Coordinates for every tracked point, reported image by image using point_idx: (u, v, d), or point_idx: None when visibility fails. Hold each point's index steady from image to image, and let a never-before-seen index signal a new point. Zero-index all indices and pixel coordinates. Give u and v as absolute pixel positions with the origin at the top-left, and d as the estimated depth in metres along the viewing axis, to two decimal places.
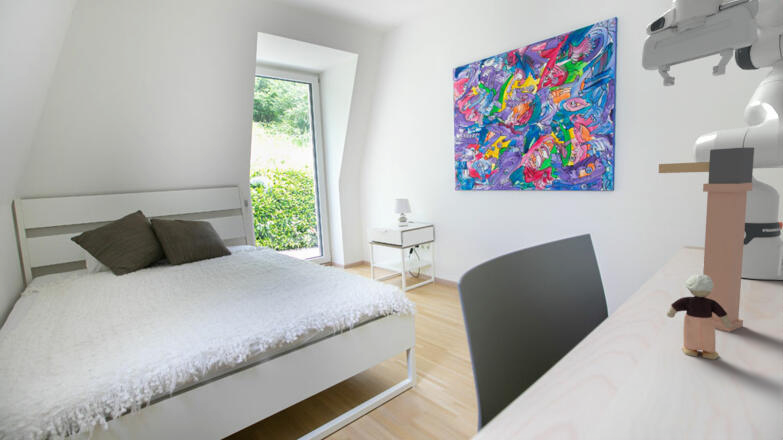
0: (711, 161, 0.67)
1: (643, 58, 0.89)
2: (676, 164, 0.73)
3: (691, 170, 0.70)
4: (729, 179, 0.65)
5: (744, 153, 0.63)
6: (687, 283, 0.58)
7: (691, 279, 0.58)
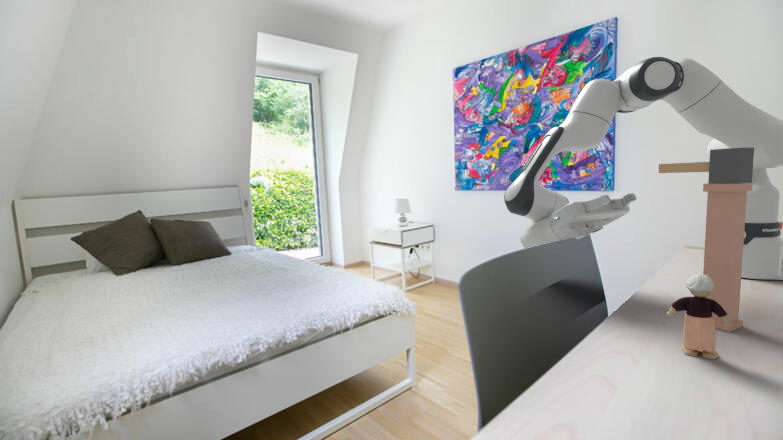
0: (711, 161, 0.67)
1: None
2: (676, 164, 0.73)
3: (691, 170, 0.70)
4: (729, 179, 0.65)
5: (744, 153, 0.63)
6: (687, 283, 0.58)
7: (691, 279, 0.58)
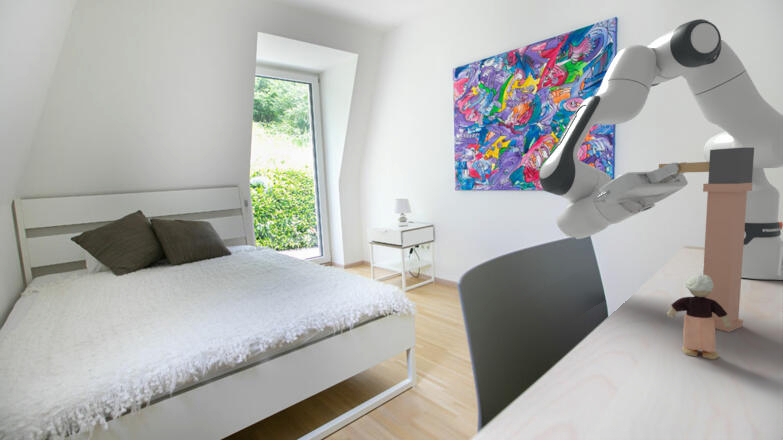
0: (711, 161, 0.67)
1: (678, 190, 0.82)
2: None
3: (691, 170, 0.70)
4: (729, 179, 0.65)
5: (744, 153, 0.63)
6: (687, 283, 0.58)
7: (691, 279, 0.58)
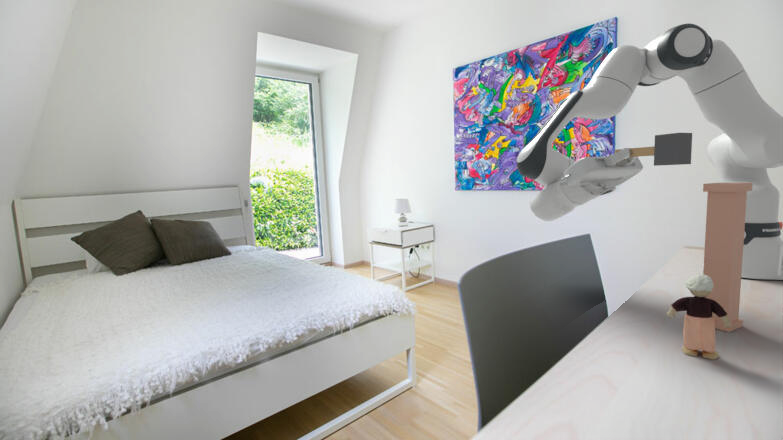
0: (656, 145, 0.75)
1: (635, 174, 0.90)
2: None
3: (641, 154, 0.79)
4: (670, 161, 0.73)
5: (682, 138, 0.72)
6: (687, 283, 0.58)
7: (691, 279, 0.58)
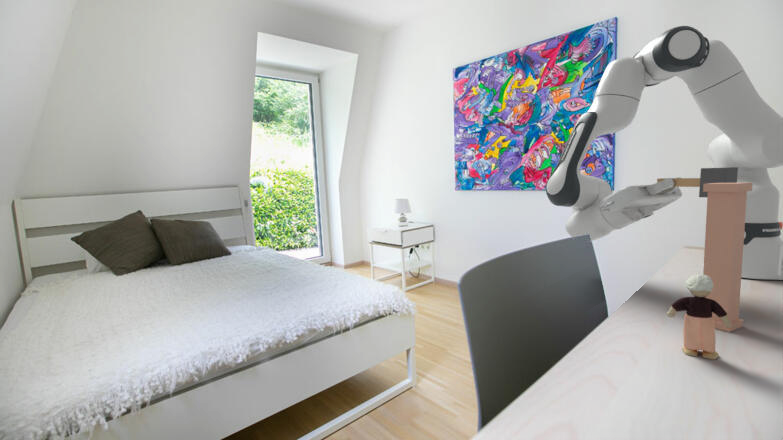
0: (701, 178, 0.78)
1: (673, 201, 0.93)
2: None
3: (685, 185, 0.82)
4: None
5: (729, 172, 0.75)
6: (687, 283, 0.58)
7: (691, 279, 0.58)
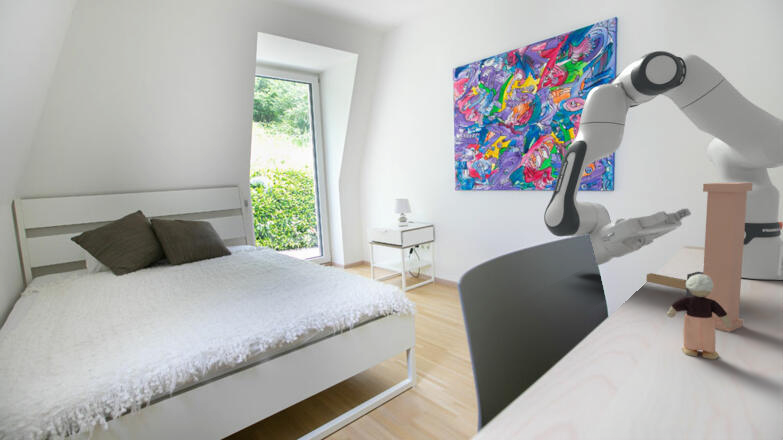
0: None
1: (673, 229, 0.94)
2: (660, 278, 0.88)
3: (672, 285, 0.85)
4: None
5: None
6: (687, 283, 0.58)
7: (691, 279, 0.58)
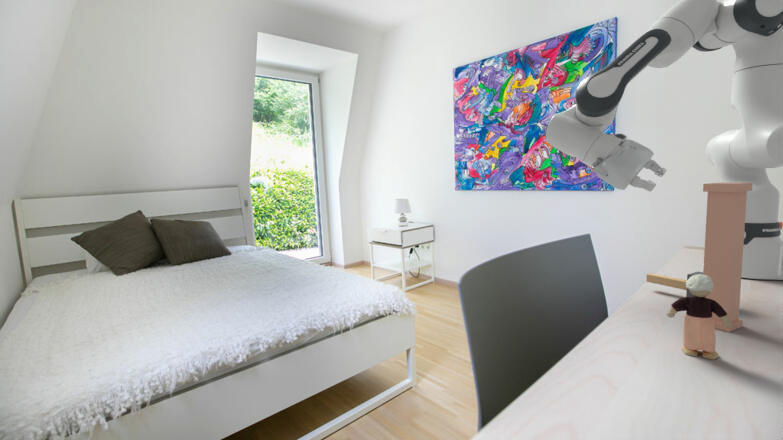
0: None
1: None
2: (660, 278, 0.88)
3: (672, 285, 0.85)
4: None
5: None
6: (687, 283, 0.58)
7: (691, 279, 0.58)
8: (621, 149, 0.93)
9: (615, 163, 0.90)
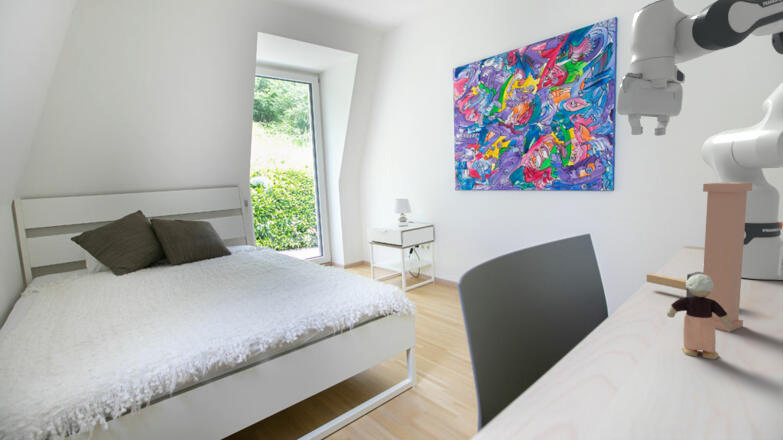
0: None
1: None
2: (660, 278, 0.88)
3: (672, 285, 0.85)
4: None
5: None
6: (687, 283, 0.58)
7: (691, 279, 0.58)
8: (663, 85, 0.86)
9: (643, 90, 0.86)
